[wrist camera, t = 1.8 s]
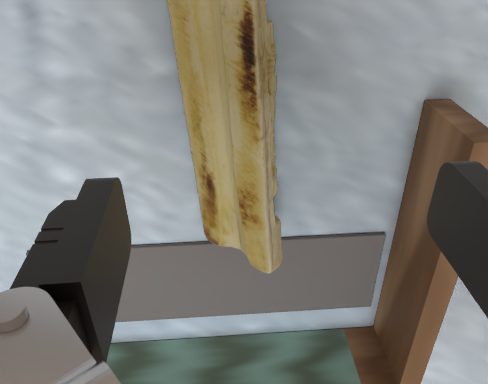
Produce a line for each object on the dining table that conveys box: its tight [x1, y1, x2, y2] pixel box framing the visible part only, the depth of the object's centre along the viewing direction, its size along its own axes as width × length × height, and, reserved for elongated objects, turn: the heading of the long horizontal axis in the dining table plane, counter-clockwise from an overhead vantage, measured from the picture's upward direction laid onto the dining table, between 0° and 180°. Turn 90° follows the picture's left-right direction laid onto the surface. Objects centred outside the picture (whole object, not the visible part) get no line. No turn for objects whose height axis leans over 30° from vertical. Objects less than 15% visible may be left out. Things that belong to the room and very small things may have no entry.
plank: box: [167, 0, 283, 274], centre depth 21 cm, size 23×5×5 cm, turn 6°
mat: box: [26, 232, 386, 322], centre depth 31 cm, size 24×7×1 cm, turn 91°
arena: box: [106, 99, 488, 384], centre depth 27 cm, size 24×21×6 cm
